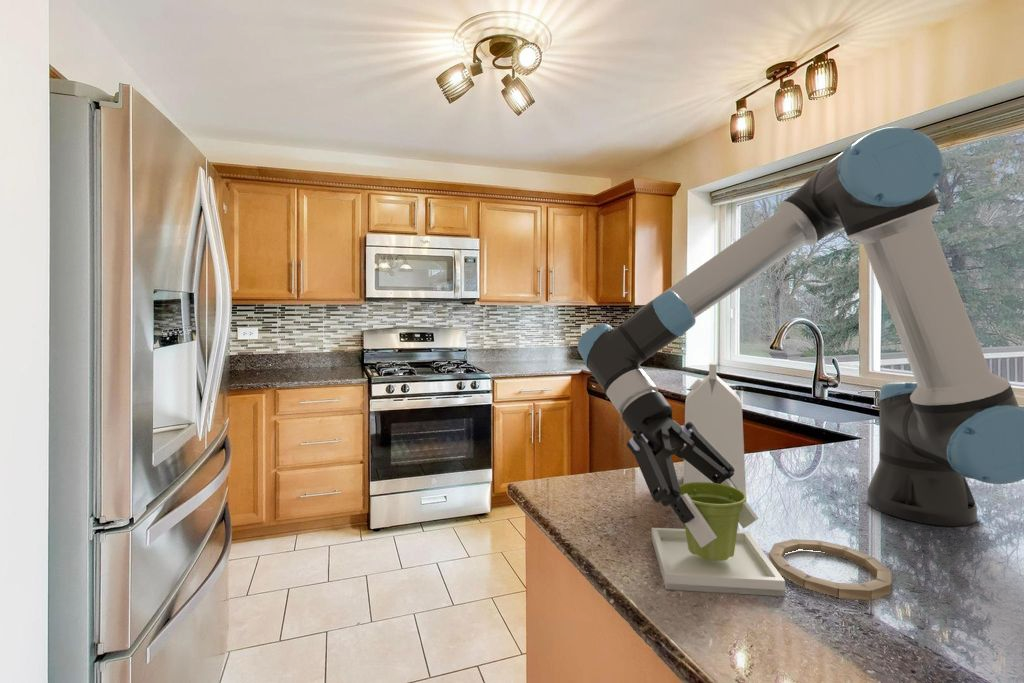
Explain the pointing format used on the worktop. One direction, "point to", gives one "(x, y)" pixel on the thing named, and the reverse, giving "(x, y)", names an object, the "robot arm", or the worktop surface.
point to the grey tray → (715, 566)
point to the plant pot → (715, 517)
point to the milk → (716, 424)
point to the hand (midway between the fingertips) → (730, 532)
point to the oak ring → (840, 590)
